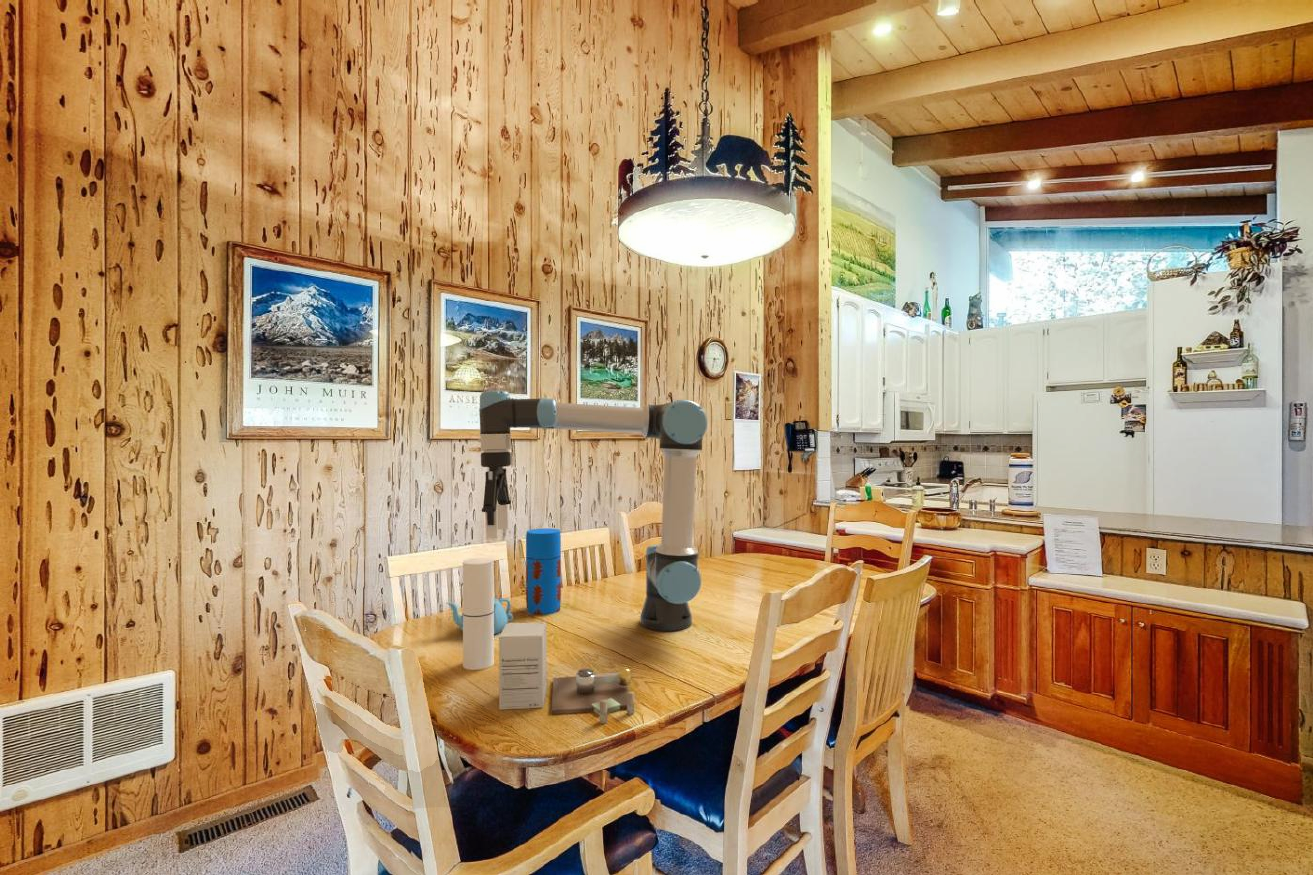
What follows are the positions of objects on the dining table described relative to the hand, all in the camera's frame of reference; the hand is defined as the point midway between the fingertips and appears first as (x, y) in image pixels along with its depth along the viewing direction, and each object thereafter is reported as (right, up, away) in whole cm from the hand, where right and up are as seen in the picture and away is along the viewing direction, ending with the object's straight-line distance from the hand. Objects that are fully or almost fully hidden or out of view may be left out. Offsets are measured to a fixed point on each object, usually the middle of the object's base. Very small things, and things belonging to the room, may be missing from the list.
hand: (497, 533), depth 154 cm
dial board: (+27, -30, -29) cm, 50 cm away
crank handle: (+30, -29, -26) cm, 49 cm away
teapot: (-9, -30, +14) cm, 35 cm away
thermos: (+5, -30, +35) cm, 46 cm away
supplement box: (+13, -30, -29) cm, 44 cm away
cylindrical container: (-2, -30, -10) cm, 32 cm away
